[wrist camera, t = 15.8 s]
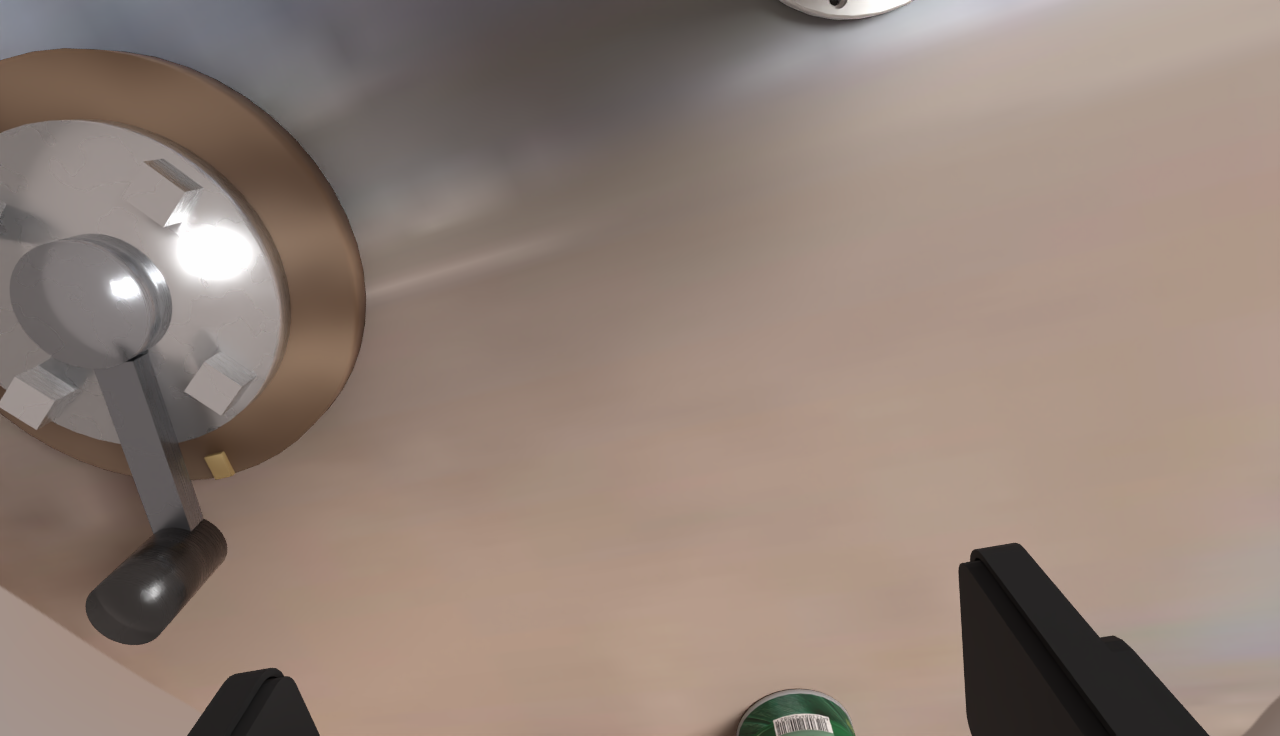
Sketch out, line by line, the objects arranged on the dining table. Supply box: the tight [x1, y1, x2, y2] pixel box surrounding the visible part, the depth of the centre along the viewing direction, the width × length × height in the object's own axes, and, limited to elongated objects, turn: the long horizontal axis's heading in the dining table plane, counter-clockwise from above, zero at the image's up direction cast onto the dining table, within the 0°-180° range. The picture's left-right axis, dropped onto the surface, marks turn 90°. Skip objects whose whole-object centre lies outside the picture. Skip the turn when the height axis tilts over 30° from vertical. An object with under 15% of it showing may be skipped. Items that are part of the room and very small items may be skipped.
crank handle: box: [0, 119, 291, 645], centre depth 35 cm, size 24×16×7 cm
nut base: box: [0, 48, 366, 480], centre depth 38 cm, size 22×22×2 cm
